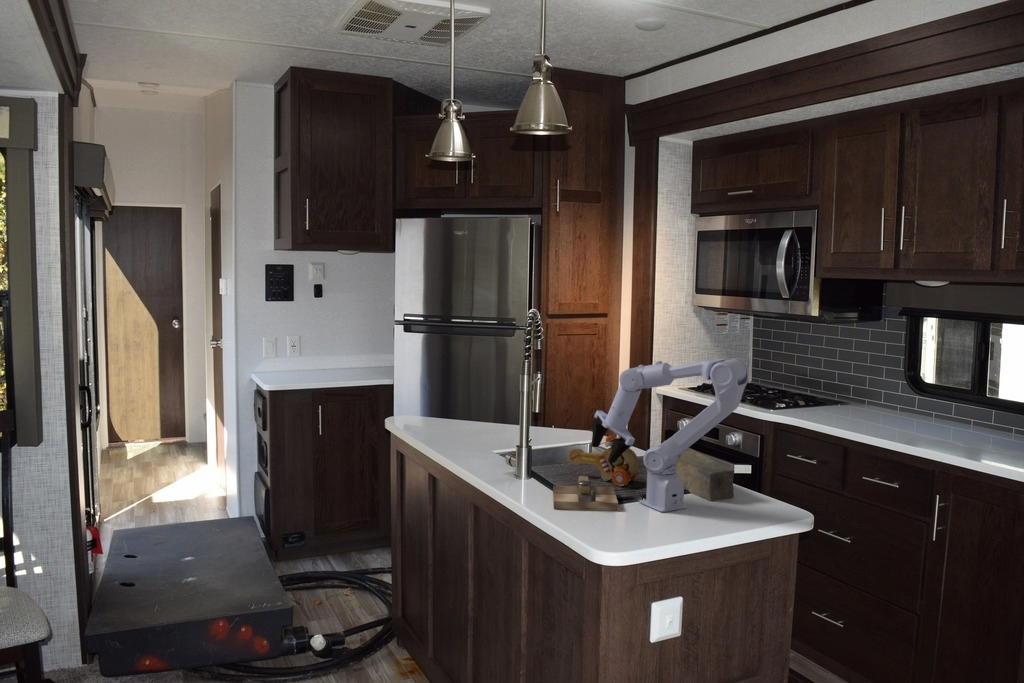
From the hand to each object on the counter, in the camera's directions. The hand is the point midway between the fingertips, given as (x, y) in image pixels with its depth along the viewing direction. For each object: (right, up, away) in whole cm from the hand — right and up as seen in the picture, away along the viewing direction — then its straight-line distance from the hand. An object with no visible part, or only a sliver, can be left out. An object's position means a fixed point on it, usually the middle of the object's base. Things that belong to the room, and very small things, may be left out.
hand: (602, 454), depth 220 cm
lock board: (-5, -11, -6) cm, 14 cm away
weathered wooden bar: (+26, -11, +9) cm, 29 cm away
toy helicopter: (+2, -10, +14) cm, 17 cm away
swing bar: (-5, -9, -3) cm, 11 cm away
